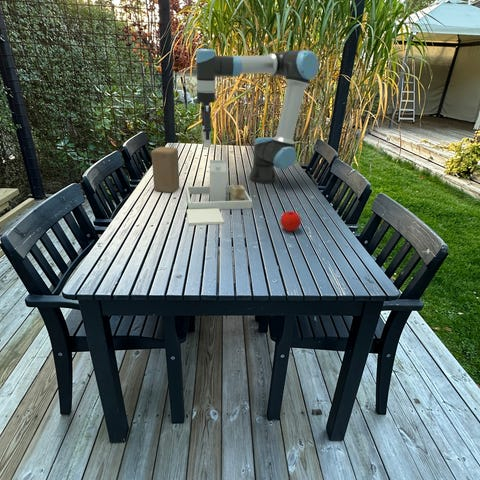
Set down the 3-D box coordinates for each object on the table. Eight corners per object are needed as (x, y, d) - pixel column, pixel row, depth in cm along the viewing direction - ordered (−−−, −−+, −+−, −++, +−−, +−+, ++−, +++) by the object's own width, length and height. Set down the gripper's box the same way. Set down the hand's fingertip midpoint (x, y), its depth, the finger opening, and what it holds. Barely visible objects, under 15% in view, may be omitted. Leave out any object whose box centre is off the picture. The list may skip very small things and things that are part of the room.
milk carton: (209, 197, 161) (209, 158, 152) (224, 198, 161) (225, 158, 153) (209, 203, 154) (210, 162, 146) (225, 203, 155) (226, 162, 146)
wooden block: (172, 193, 164) (170, 152, 155) (153, 191, 165) (150, 150, 156) (180, 187, 173) (178, 147, 163) (161, 185, 174) (159, 146, 165)
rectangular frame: (241, 192, 170) (242, 185, 168) (251, 208, 151) (252, 201, 149) (186, 193, 165) (185, 186, 163) (188, 210, 146) (188, 203, 144)
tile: (218, 210, 147) (218, 208, 147) (223, 223, 135) (223, 221, 135) (186, 211, 145) (186, 209, 144) (188, 225, 132) (188, 223, 132)
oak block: (240, 201, 158) (241, 185, 154) (244, 205, 154) (245, 188, 150) (230, 202, 156) (230, 186, 153) (234, 206, 152) (234, 189, 149)
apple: (278, 224, 137) (280, 207, 133) (298, 225, 137) (300, 208, 133) (280, 233, 130) (282, 215, 126) (300, 234, 129) (303, 216, 126)
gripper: (195, 89, 150) (196, 138, 159) (198, 94, 128) (199, 150, 138) (212, 89, 151) (212, 138, 161) (218, 94, 129) (217, 150, 139)
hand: (206, 144), depth 149 cm, fingers open, 13 cm apart
